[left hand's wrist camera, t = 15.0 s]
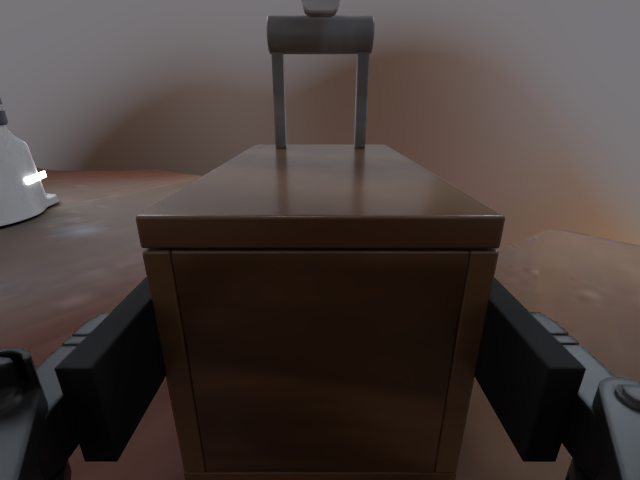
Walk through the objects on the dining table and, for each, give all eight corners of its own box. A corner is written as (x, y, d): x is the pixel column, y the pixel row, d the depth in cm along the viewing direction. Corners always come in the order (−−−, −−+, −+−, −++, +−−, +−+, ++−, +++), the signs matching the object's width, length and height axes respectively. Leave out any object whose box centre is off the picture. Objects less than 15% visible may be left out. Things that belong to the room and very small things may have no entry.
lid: (256, 157, 26) (247, 23, 23) (384, 157, 26) (393, 23, 23) (139, 249, 9) (53, -197, 6) (500, 249, 9) (588, -198, 6)
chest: (262, 272, 29) (254, 159, 26) (378, 273, 29) (386, 159, 26) (186, 488, 13) (140, 251, 9) (453, 488, 13) (500, 251, 9)
